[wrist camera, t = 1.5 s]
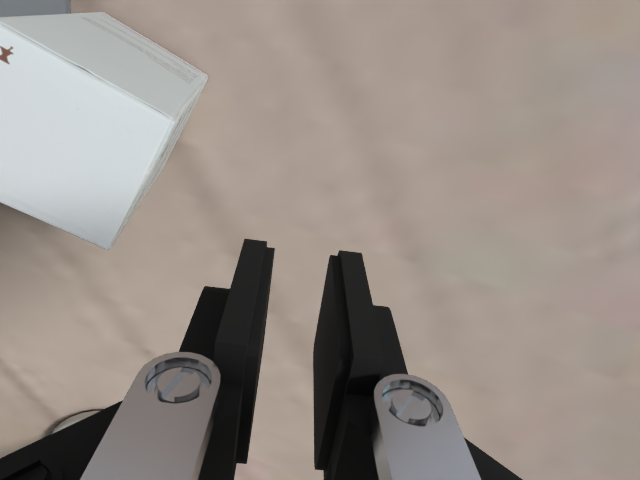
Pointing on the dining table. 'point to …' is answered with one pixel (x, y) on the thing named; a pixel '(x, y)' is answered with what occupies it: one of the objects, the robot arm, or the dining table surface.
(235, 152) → the dining table surface
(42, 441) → the robot arm
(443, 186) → the dining table surface
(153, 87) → the supplement box
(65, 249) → the dining table surface
